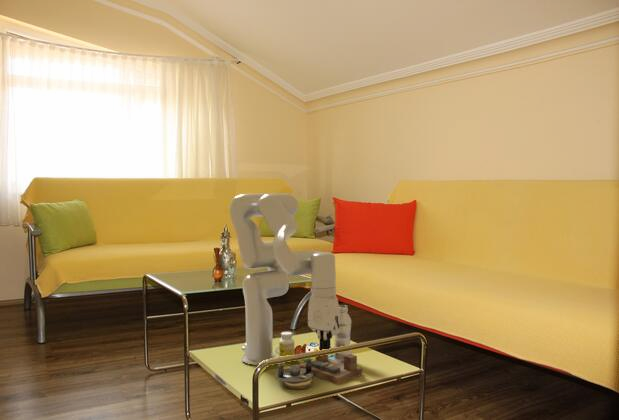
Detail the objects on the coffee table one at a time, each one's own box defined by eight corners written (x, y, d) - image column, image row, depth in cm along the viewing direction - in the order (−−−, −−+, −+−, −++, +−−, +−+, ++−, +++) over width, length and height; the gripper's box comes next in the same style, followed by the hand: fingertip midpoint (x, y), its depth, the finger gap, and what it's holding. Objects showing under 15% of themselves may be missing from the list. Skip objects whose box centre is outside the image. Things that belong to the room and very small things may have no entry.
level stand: (298, 370, 180) (298, 351, 180) (322, 362, 189) (322, 344, 188) (337, 384, 167) (337, 364, 167) (362, 374, 176) (362, 355, 176)
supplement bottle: (277, 358, 193) (277, 331, 193) (292, 357, 195) (292, 330, 194) (281, 363, 188) (281, 335, 188) (296, 361, 190) (296, 334, 189)
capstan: (269, 382, 168) (268, 362, 168) (295, 373, 176) (295, 354, 176) (294, 392, 160) (294, 371, 159) (321, 382, 168) (321, 362, 168)
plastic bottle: (352, 365, 185) (352, 308, 184) (333, 365, 185) (333, 308, 185) (351, 359, 192) (351, 304, 191) (332, 359, 192) (332, 304, 191)
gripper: (298, 291, 167) (299, 349, 167) (333, 296, 157) (334, 359, 157) (315, 288, 172) (316, 344, 173) (350, 293, 162) (351, 353, 162)
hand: (325, 351), depth 165 cm, fingers closed
